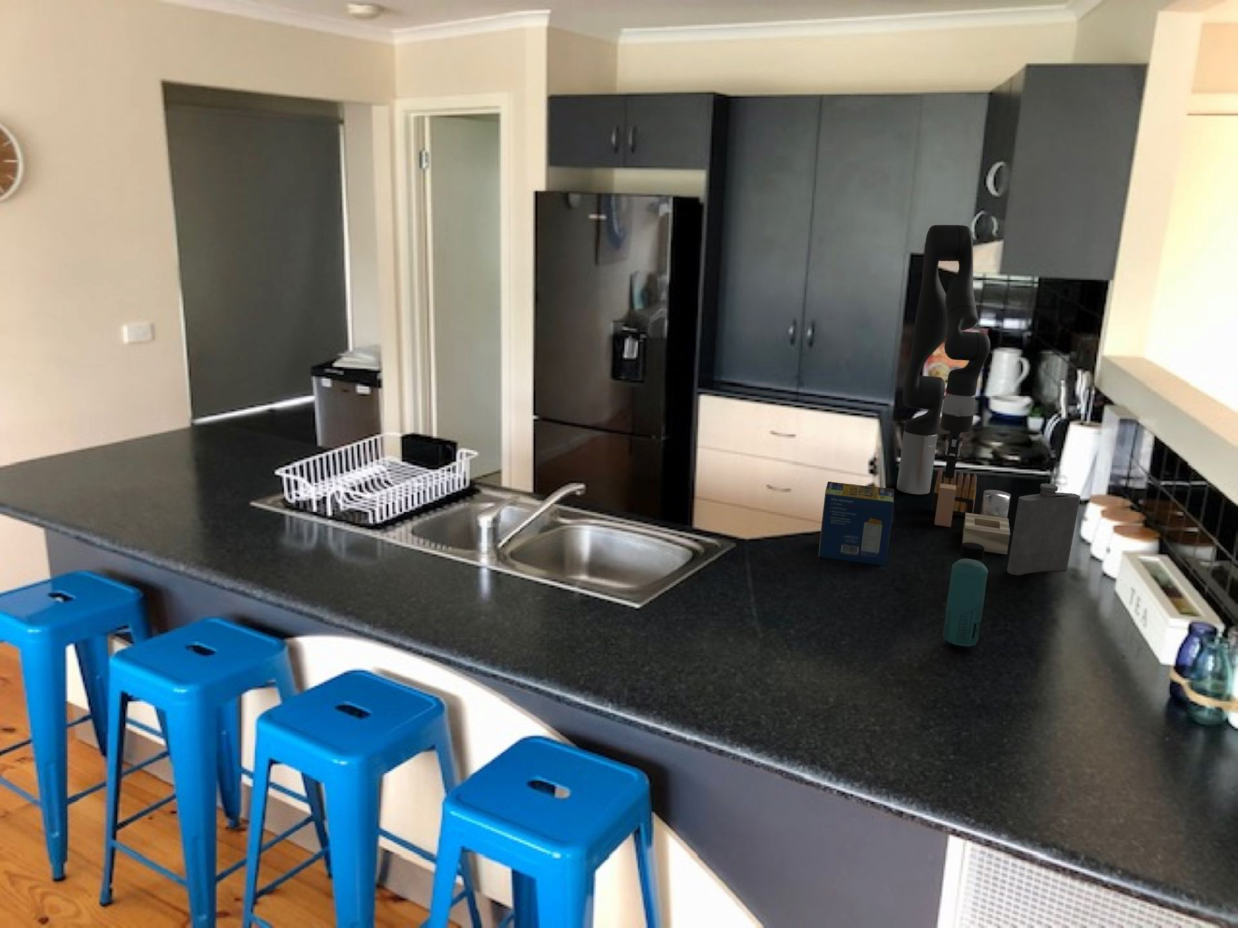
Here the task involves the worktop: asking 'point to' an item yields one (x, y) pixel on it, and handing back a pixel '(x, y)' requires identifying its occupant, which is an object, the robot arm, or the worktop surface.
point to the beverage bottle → (966, 597)
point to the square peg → (945, 505)
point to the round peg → (995, 503)
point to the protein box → (856, 523)
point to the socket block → (987, 532)
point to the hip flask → (1043, 531)
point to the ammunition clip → (958, 493)
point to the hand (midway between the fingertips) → (949, 473)
